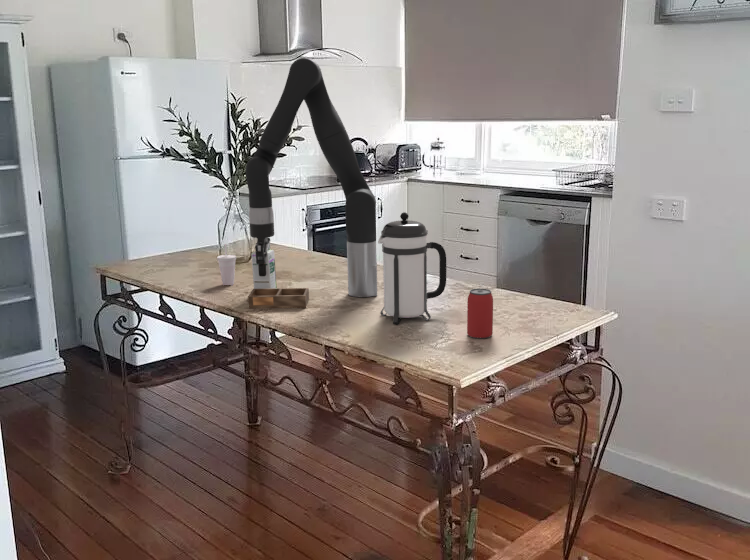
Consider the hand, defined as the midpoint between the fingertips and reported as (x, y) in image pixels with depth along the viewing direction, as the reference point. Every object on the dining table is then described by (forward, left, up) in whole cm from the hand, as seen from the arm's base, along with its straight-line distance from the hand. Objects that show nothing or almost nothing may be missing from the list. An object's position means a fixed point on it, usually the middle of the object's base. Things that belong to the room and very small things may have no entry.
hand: (264, 273), depth 240 cm
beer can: (-63, +44, -7) cm, 77 cm away
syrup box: (0, 0, -7) cm, 7 cm away
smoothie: (+15, -15, -7) cm, 22 cm away
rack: (-6, +11, -7) cm, 14 cm away
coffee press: (-45, +26, -7) cm, 52 cm away
